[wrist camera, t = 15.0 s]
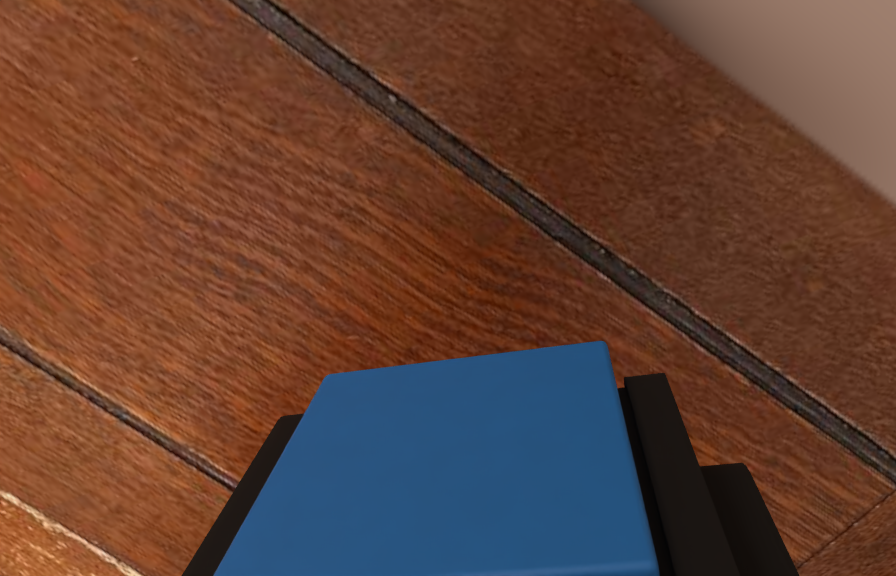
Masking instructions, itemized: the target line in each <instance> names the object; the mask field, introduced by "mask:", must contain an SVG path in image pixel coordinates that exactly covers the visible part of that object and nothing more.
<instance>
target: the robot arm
mask: <svg viewBox="0 0 896 576" xmlns="http://www.w3.org/2000/svg"><path fill="white" fill-rule="evenodd" d="M624 386H625V388H618V393H619V398H620V402H621V406H622V411H623V415H624V419H625V424H626V428H627V432H628V436H629V441H630V445H631V449H632V454H633V458H634V462H635V467H636V471H637V475H638V480H639V484H640V488H641V492H642V497H643V501H644V505H645V510H646V514H647V518H648V523H649V527H650V531H651V536H652V540H653V544H654V548H655V553H656V557H657V561H658V566H659V575H660V576H799V574H798V572H797V570H796V568H795V566H794V563H793V561H792V559H791V557H790V555H789V553H788V551H787V549H786V547H785V545H784V542H783V540H782V538H781V536H780V534H779V532H778V530H777V528H776V526H775V524H774V521H773V519H772V517H771V515H770V513H769V511H768V509H767V507H766V505H765V503H764V500H763V498H762V496H761V494H760V492H759V490H758V488H757V486H756V484H755V482H754V480H753V477H752V475H751V473H750V472H749V470H748V468H747V466H746V465H744V464H743V463H734V464H723V465H712V466H699V464H698V461H697V458H696V455H695V453H694V450H693V447H692V445H691V442H690V439H689V437H688V434H687V431H686V429H685V426H684V423H683V420H682V418H681V415H680V412H679V410H678V407H677V404H676V402H675V399H674V396H673V394H672V391H671V388H670V386H669V383H668V380H667V377H666V375H665V373H658V374H650V375H641V376H632V377H624ZM303 415H304V414H297V415H288V416H282V417H281V418H280V419H279V420H278V421H277V423H276V424H275V426H274V428H273V429H272V431H271V432H270V434H269V436H268V437H267V439H266V440H265V442H264V444H263V445H262V447H261V449H260V450H259V452H258V453H257V455H256V457H255V458H254V460H253V461H252V463H251V465H250V466H249V468H248V470H247V471H246V473H245V474H244V476H243V478H242V479H241V481H240V482H239V484H238V486H237V487H236V489H235V491H234V492H233V494H232V495H231V497H230V499H229V500H228V502H227V504H226V505H225V507H224V508H223V510H222V512H221V513H220V515H219V516H218V518H217V520H216V521H215V523H214V525H213V526H212V528H211V529H210V531H209V533H208V534H207V536H206V537H205V539H204V541H203V542H202V544H201V546H200V547H199V549H198V550H197V552H196V554H195V555H194V557H193V558H192V560H191V562H190V563H189V565H188V567H187V568H186V570H185V571H184V573H183V575H182V576H213V575H214V573H215V572H216V570H217V568H218V566H219V565H220V563H221V561H222V559H223V557H224V556H225V554H226V552H227V550H228V549H229V547H230V545H231V543H232V541H233V540H234V538H235V536H236V534H237V533H238V531H239V529H240V527H241V525H242V524H243V522H244V520H245V518H246V517H247V515H248V513H249V511H250V509H251V508H252V506H253V504H254V502H255V501H256V499H257V497H258V495H259V493H260V492H261V490H262V488H263V486H264V485H265V483H266V481H267V479H268V477H269V476H270V474H271V472H272V470H273V469H274V467H275V465H276V463H277V461H278V460H279V458H280V456H281V454H282V453H283V451H284V449H285V447H286V445H287V444H288V442H289V440H290V438H291V437H292V435H293V433H294V431H295V429H296V428H297V426H298V424H299V422H300V421H301V419H302V417H303Z"/></svg>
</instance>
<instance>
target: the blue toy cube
mask: <svg viewBox="0 0 896 576" xmlns="http://www.w3.org/2000/svg"><path fill="white" fill-rule="evenodd" d="M213 576H660V575H659V566H658V561H657V557H656V553H655V548H654V544H653V540H652V536H651V531H650V527H649V523H648V518H647V514H646V510H645V505H644V501H643V497H642V492H641V488H640V484H639V480H638V475H637V471H636V467H635V462H634V458H633V454H632V449H631V445H630V441H629V436H628V432H627V428H626V424H625V419H624V415H623V411H622V406H621V402H620V398H619V393H618V389H617V385H616V381H615V376H614V372H613V368H612V363H611V359H610V355H609V350H608V346H607V344H606V343H605V342H604V341H595V342H587V343H579V344H571V345H562V346H554V347H546V348H538V349H530V350H522V351H514V352H506V353H498V354H490V355H482V356H474V357H465V358H457V359H449V360H441V361H433V362H425V363H417V364H409V365H401V366H393V367H385V368H377V369H368V370H360V371H352V372H344V373H336V374H329V375H327V376H326V377H325V378H324V380H323V382H322V383H321V385H320V387H319V389H318V390H317V392H316V394H315V396H314V398H313V399H312V401H311V403H310V405H309V406H308V408H307V410H306V412H305V414H304V415H303V417H302V419H301V421H300V422H299V424H298V426H297V428H296V429H295V431H294V433H293V435H292V437H291V438H290V440H289V442H288V444H287V445H286V447H285V449H284V451H283V453H282V454H281V456H280V458H279V460H278V461H277V463H276V465H275V467H274V469H273V470H272V472H271V474H270V476H269V477H268V479H267V481H266V483H265V485H264V486H263V488H262V490H261V492H260V493H259V495H258V497H257V499H256V501H255V502H254V504H253V506H252V508H251V509H250V511H249V513H248V515H247V517H246V518H245V520H244V522H243V524H242V525H241V527H240V529H239V531H238V533H237V534H236V536H235V538H234V540H233V541H232V543H231V545H230V547H229V549H228V550H227V552H226V554H225V556H224V557H223V559H222V561H221V563H220V565H219V566H218V568H217V570H216V572H215V573H214V575H213Z"/></svg>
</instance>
